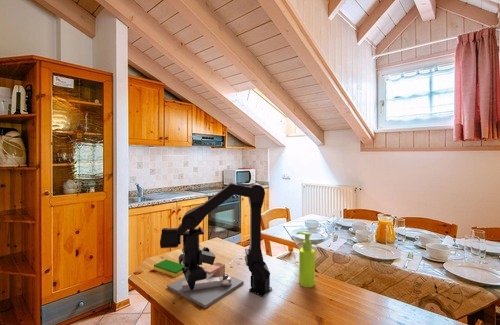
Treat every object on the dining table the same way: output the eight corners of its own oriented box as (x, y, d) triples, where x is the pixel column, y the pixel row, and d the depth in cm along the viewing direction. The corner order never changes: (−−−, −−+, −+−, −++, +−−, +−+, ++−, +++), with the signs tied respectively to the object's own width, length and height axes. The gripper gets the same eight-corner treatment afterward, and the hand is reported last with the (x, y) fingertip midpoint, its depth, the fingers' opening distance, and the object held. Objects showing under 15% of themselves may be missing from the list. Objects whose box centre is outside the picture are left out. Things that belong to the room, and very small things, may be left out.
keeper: (224, 274, 107) (224, 264, 106) (209, 283, 100) (209, 272, 100) (217, 271, 109) (217, 262, 109) (202, 279, 102) (202, 269, 102)
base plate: (243, 283, 101) (243, 281, 101) (205, 308, 85) (205, 305, 85) (206, 268, 114) (206, 266, 114) (167, 288, 98) (167, 285, 98)
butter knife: (245, 254, 130) (239, 252, 131) (216, 278, 106) (209, 276, 107) (244, 255, 130) (239, 253, 131) (215, 280, 106) (209, 278, 107)
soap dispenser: (299, 277, 106) (300, 229, 105) (316, 282, 102) (316, 231, 102) (294, 284, 101) (294, 233, 100) (311, 288, 97) (312, 236, 96)
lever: (230, 279, 102) (230, 271, 102) (233, 285, 97) (233, 277, 97) (182, 286, 97) (182, 277, 97) (182, 293, 92) (182, 284, 92)
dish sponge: (175, 278, 107) (175, 272, 107) (153, 270, 114) (153, 264, 114) (188, 271, 113) (187, 265, 113) (166, 264, 120) (166, 259, 120)
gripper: (221, 251, 88) (221, 297, 88) (206, 235, 105) (206, 274, 105) (188, 257, 83) (188, 305, 83) (177, 240, 100) (178, 279, 100)
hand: (191, 289), depth 93 cm, fingers closed
